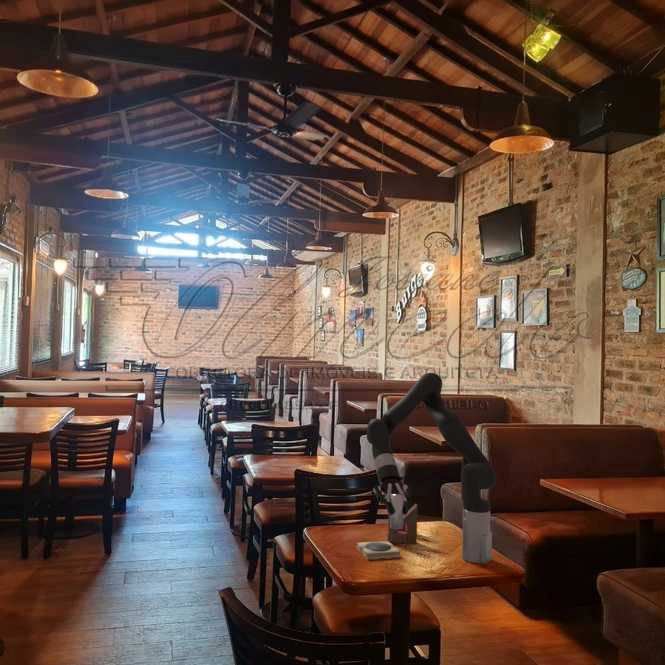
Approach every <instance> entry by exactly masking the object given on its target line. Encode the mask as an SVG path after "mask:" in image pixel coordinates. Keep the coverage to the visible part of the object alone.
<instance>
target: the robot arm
mask: <svg viewBox="0 0 665 665" xmlns="http://www.w3.org/2000/svg"><path fill="white" fill-rule="evenodd" d="M442 387H443V380H442V377H441V376H440V375H439V374H437V373H436V372H426V373H425V374H423V375H422V376H421V377H420V378H418V380H417V381H416V383H415V384H414V385H413V386H412V387H411V388H410V390H409V391H408V392H406V394H405V395H404V396H403V397H402V398H400V399H399V400H398V401H397V402H396V403H395V404H393V405H392V406H391V407H390V408H389V409H388V410H387V411H385V412H384V414H383V415H382V417H381V419H380V418H377V417H376V418H373V419H371V420H370V421H368V424H367V430H366V431H367V432H366V440H367V442H368V443H369V444H370V445H371V452H372V457H373V461H374V468H375V470H376V476H377V479H378V483H379V485H374V487H373V488H372V492H373V495H374V496H375V497H376V499H377V501H378V503H379V504H380V505H385V507H386V512H387V514H388V515H389V514H390V515H393V513H394V511H393V507H392V503H391V502H390V497H391V493H402V494H404V493H403V491H402V488H403V489H404V491H405V492H406V493H405V496H404V515H406V514H407V513H408V511H409V510H410V509H409V506H408V504H409V503H410V501H411V500H412V485H411V484H404V483H403V481H402V479H401V476H400V473H399V467H398V465H397V462H396V460H395V459H396V458H395V457H394V454H393V450H392V448H391V444H390V438H389V437H391V435H392V434H393V432H394V431H395V430H396V428H398V427H399V426H400V425H401V424H402V423H404V422H405V421H406V420H407V419H408V418H409V417H410V416H411V415H412V413H413V412H414V410H415V409H416V408H417V406H418V405H419V404H420V403H421V402H422V404H423V405H424V407H425V408H426V409H427V411H428V413H429V414H430V415H431V417H432V420H433V421H434V423H435V424H436V427H437V428H438V431H439V433H440V435H441V436H442V438H443V440H444V441H445V442H446V444H447V445H448V446H449V448H450V447H451V448H452V449H453V450H454V451H456V452H457V453H458V454H460V455H461V456H462V457H463V458H465V459H466V461H467V462H468V463H466V464H465V465H463V467H462V468H461V472H460V487H461V490H460V491H461V494H460V496H461V500H462V509H463V510H462V543H461V544H462V547H461V548H462V549H461V556H462V557H461V558H462V560H464V561H466V562H468V563H473V564H483V565H486V564H487V563H489V562H490V561H491V560H492V556H493V555H492V550H493V549H492V547H493V546H492V545H493V544H492V543H493V542H492V541H493V532H492V531H491V502H490V501H489V500H487V499H484V498H481V494H480V493H481V492H480V491H481V490H489V489H492V488H494V487H495V486H496V484H497V474H496V471H495V469H494V467H493V465H492V464H491V463H490V461H489V460H488V459H487V457H486V456H485V454H484V453H483V452H482V451H481V449H480V448H479V446H478V445H477V443H476V442H475V440H474V438H473V437H472V435H471V434H470V432H469V430H468V429H467V427H466V425H465V423H464V422H463V420H462V419H461V417H460V415H458V414H457V413H456V412H454V411H453V410H451V409H449V408H448V407H447V406H446V404H445V402H444V400H443V398H442V395H441V394H442V389H443V388H442ZM401 481H402V482H401ZM403 484H404V485H403ZM381 491H382V492H381ZM383 493H384V495H383Z"/></svg>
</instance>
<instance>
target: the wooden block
mask: <svg viewBox="0 0 665 665" xmlns="http://www.w3.org/2000/svg"><path fill="white" fill-rule="evenodd" d="M390 502H391V497H390ZM387 520H388V527H387V528H388V529H387V532H386V533H387V534H386V536H387V537H386V541H389V542H393V543H392V544H408V543H411V544H410V545H416V544H417V543H418V542H417V541H418V540H417V538H418V534H417V533H418V504H417V503H415V504H414V505H413V506H412V507H410V509H409V511H408V513H407V514H406V515H403V524H406V530H405V532H404V531H398V529H392V528H390V514H389V513H388V519H387Z"/></svg>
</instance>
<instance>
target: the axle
mask: <svg viewBox="0 0 665 665" xmlns="http://www.w3.org/2000/svg"><path fill="white" fill-rule="evenodd" d="M391 503H392V507H393V511H394V513H393V515H390V528H392V529H403V514H404V494H402V493H391Z"/></svg>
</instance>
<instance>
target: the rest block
mask: <svg viewBox="0 0 665 665" xmlns="http://www.w3.org/2000/svg"><path fill="white" fill-rule="evenodd" d="M356 549H357V550H358V551H359V552H360V554H362V556H363V557H364V556H365V557H366V558H365V557H364V558H365V559H366V561H367V560H368V559H369V560H380V559H379V558H385V559H391V558H390V557H399V558H401V551H400V549H398V548H397V547H396V546H394V545H393V543H390V542H389V541H387V540H379V541H378V540H377V541H366V542H365V541H364V542H360V541H359V542H356ZM369 560H368V561H369Z"/></svg>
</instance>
